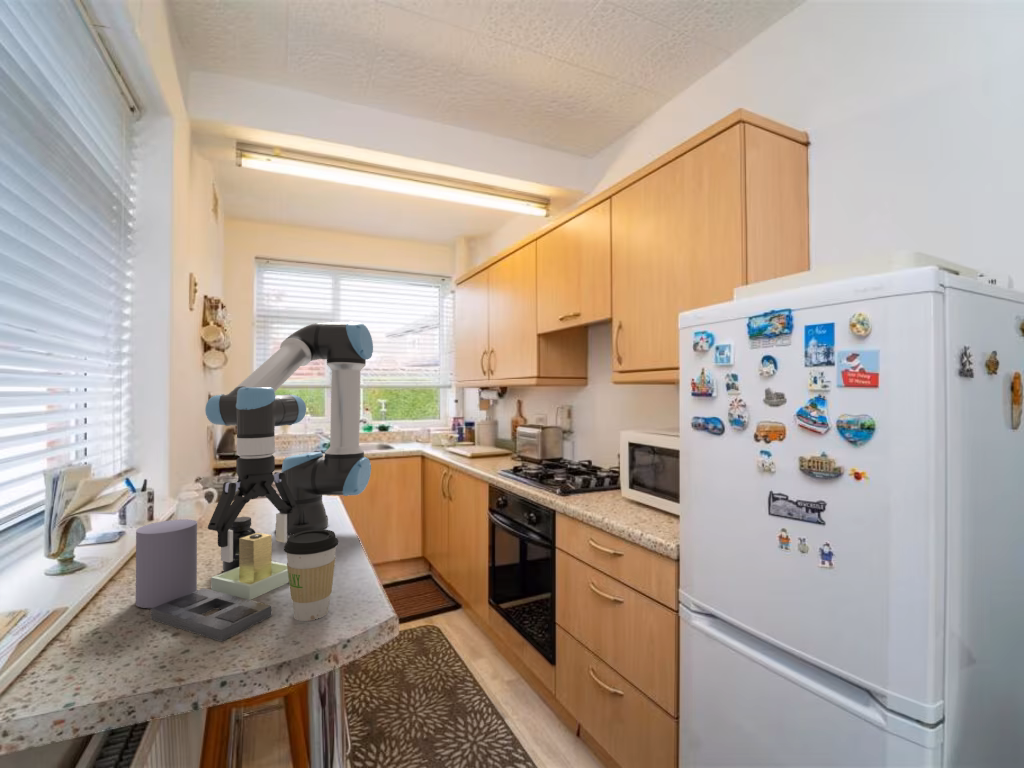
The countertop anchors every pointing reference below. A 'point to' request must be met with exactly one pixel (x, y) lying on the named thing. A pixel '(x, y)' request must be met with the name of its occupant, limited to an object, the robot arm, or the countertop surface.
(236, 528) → the supplement bottle
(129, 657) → the countertop surface
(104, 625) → the countertop surface
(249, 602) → the slotted grey trivet
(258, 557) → the upright wooden post
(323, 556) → the coffee cup
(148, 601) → the container
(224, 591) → the tray
